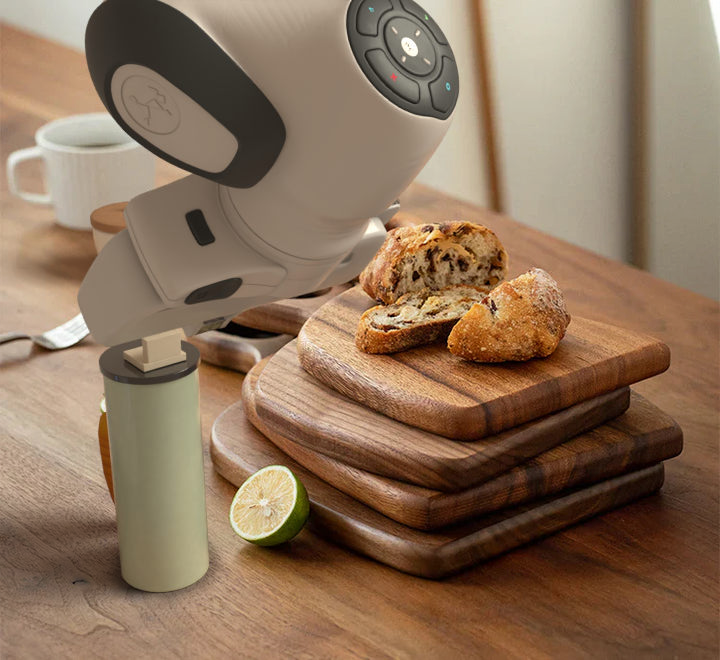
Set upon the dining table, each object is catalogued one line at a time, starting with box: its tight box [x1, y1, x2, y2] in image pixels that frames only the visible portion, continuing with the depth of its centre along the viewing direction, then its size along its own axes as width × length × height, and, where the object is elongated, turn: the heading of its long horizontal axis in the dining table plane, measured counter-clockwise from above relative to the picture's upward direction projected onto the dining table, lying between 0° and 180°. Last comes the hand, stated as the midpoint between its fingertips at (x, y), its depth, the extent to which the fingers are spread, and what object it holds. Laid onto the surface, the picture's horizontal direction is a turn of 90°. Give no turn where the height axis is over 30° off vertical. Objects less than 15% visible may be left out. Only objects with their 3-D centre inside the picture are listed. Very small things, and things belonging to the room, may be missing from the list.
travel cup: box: [98, 338, 210, 593], centre depth 85 cm, size 8×8×19 cm
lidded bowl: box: [89, 200, 130, 255], centre depth 153 cm, size 13×13×11 cm
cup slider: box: [123, 329, 186, 372], centre depth 81 cm, size 4×3×2 cm
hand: (200, 323), depth 74 cm, fingers closed
